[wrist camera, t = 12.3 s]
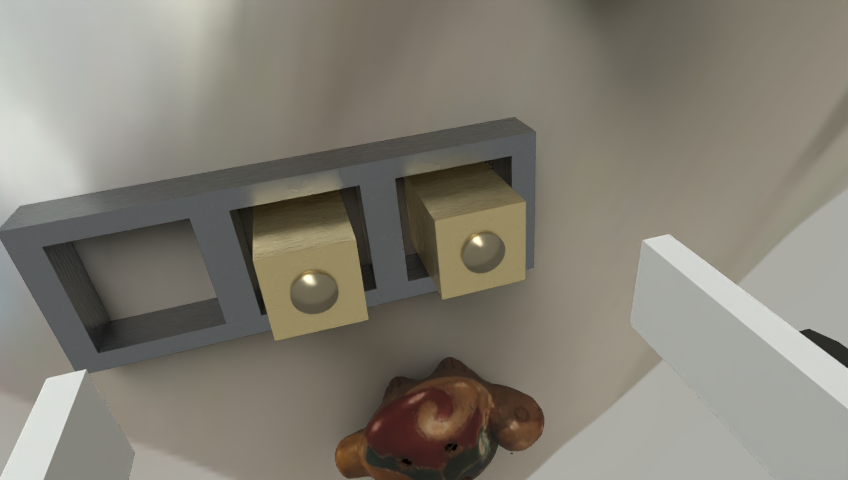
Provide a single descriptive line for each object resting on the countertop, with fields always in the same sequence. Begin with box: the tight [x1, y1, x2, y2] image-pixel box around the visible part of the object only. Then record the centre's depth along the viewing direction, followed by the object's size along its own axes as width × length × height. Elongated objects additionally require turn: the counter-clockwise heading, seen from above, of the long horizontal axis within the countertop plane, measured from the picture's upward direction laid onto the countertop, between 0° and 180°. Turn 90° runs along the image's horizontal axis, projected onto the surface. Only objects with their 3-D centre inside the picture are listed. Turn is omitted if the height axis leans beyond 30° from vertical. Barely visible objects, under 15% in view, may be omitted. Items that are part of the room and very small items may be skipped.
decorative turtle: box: [335, 357, 544, 480], centre depth 39 cm, size 10×15×8 cm, turn 113°
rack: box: [0, 117, 536, 373], centre depth 32 cm, size 9×28×3 cm, turn 95°
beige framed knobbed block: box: [404, 161, 526, 300], centre depth 32 cm, size 5×5×7 cm
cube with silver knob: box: [253, 189, 369, 341], centre depth 30 cm, size 5×5×7 cm
